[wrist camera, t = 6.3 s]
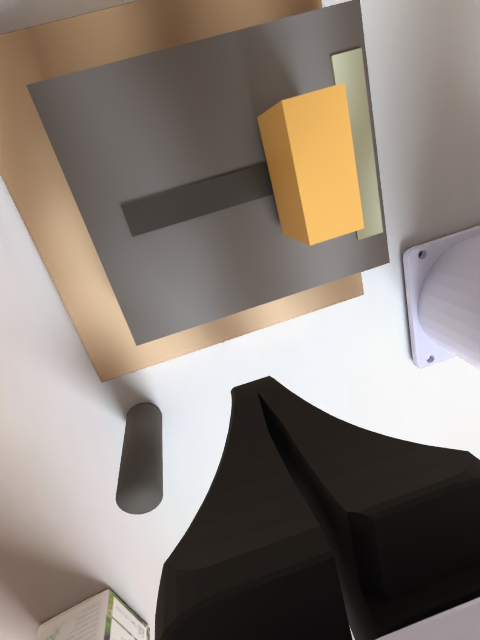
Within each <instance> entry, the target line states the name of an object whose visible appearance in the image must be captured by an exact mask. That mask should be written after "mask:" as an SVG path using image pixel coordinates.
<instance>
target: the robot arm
mask: <svg viewBox="0 0 480 640" xmlns="http://www.w3.org/2000/svg"><path fill="white" fill-rule="evenodd" d="M420 251H422V255H421V257H418V255H419V252H420ZM403 265H404V275H405V285H406V295H407V305H408V316H409V326H410V336H411V346H412V356H413V363H414V365H415V366H417V367H418V368H425V367H428V366H431V365H433V364H436V363H439V362H442V361H444V360H447V359H450V358H453V357H455V356H458V357H459V358H461V359H463V360H464V361H466V362H468V363H470V364H471V365H473V366H475V367H477V368H478V369H480V225H478V226H475V227H472V228H469V229H466V230H463V231H460V232H457V233H454V234H451V235H448V236H445V237H442V238H439V239H436V240H433V241H430V242H427V243H424V244H421V245H417V246H414V247H411V248H409V249H407V250H406V251H405V253H404V255H403ZM429 356H430V358H429V359H428V360H427V358H428V357H429ZM231 395H232V408H231V417H230V424H229V430H228V435H227V439H226V443H225V447H224V451H223V454H222V458H221V461H220V464H219V466H218V469H217V472H216V474H215V477H214V479H213V482H212V484H211V486H210V489H209V491H208V493H207V495H206V497H205V499H204V501H203V503H202V505H201V507H200V509H199V510H198V512H197V514H196V516H195V518H194V519H193V521H192V523H191V525H190V527H189V528H188V530H187V531H186V533H185V535H184V536H183V537H182V539H181V540H180V542H179V543H178V545H177V546H176V548H175V549H174V551H173V552H172V554H171V555H170V556H169V558H168V559H167V560H166V562H165V563H164V565H163V570H162V575H161V580H160V585H159V592H158V598H157V607H156V615H155V640H352V636H351V631H350V628H351V630H352V633H353V636H354V638H355V640H480V460H479V459H478V458H476V457H475V456H474V455H472V454H471V453H470V452H468V451H462V450H455V449H449V448H442V447H435V446H428V445H423V444H418V443H414V442H409V441H405V440H400V439H396V438H392V437H389V436H385V435H382V434H379V433H375V432H372V431H369V430H366V429H363V428H360V427H358V426H355V425H352V424H350V423H348V422H345V421H343V420H340V419H338V418H336V417H334V416H332V415H330V414H328V413H326V412H324V411H322V410H320V409H318V408H317V407H315V406H313V405H312V404H310V403H308V402H307V401H305V400H303V399H302V398H300V397H299V396H297V395H296V394H294V393H293V392H291V391H290V390H288V389H287V388H286V387H284V386H283V385H282V384H280V383H279V382H278V381H276V380H275V379H274V378H272V377H270V376H267V377H264V378H261V379H258V380H255V381H252V382H249V383H246V384H243V385H240V386H237V387H234V388H233V389H232V390H231ZM349 625H350V626H349Z"/></svg>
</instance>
